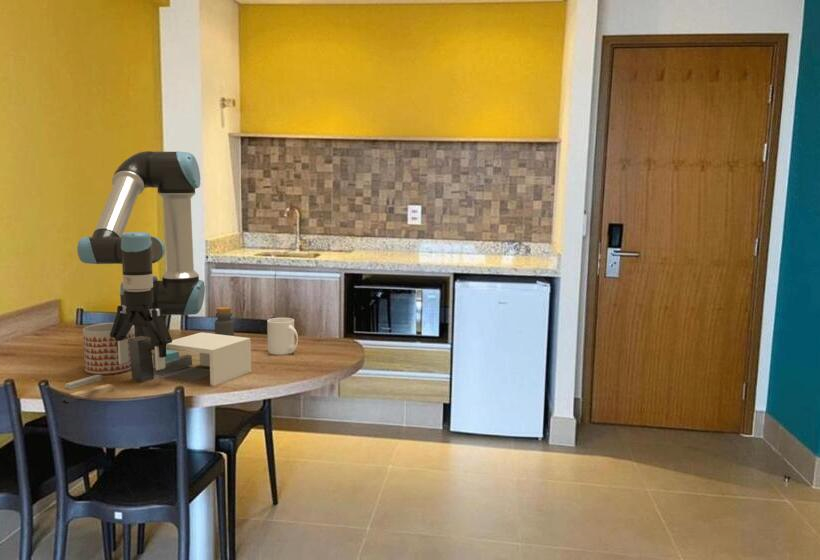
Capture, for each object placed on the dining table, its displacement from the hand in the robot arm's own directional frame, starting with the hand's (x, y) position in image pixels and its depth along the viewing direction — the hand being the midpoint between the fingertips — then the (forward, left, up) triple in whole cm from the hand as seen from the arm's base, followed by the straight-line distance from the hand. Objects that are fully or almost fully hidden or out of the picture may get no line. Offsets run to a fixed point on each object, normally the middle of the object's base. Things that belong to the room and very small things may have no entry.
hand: (141, 365), depth 182 cm
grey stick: (-12, -9, -5) cm, 16 cm away
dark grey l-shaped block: (+1, +7, -4) cm, 8 cm away
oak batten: (-1, -16, -5) cm, 17 cm away
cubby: (+13, +12, -4) cm, 18 cm away
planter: (-17, +5, -4) cm, 19 cm away
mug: (+17, +44, -4) cm, 47 cm away
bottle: (0, +35, -4) cm, 35 cm away
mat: (+3, +10, -4) cm, 12 cm away
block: (-2, +11, -4) cm, 12 cm away
